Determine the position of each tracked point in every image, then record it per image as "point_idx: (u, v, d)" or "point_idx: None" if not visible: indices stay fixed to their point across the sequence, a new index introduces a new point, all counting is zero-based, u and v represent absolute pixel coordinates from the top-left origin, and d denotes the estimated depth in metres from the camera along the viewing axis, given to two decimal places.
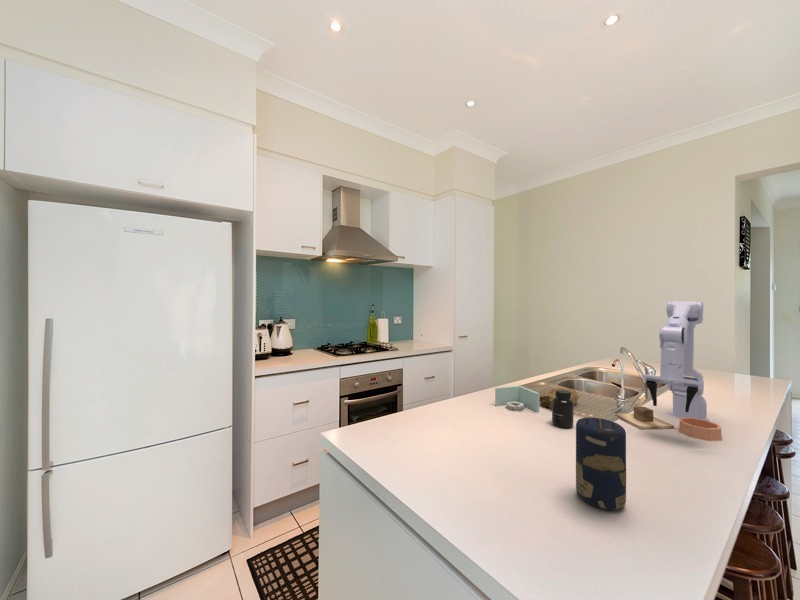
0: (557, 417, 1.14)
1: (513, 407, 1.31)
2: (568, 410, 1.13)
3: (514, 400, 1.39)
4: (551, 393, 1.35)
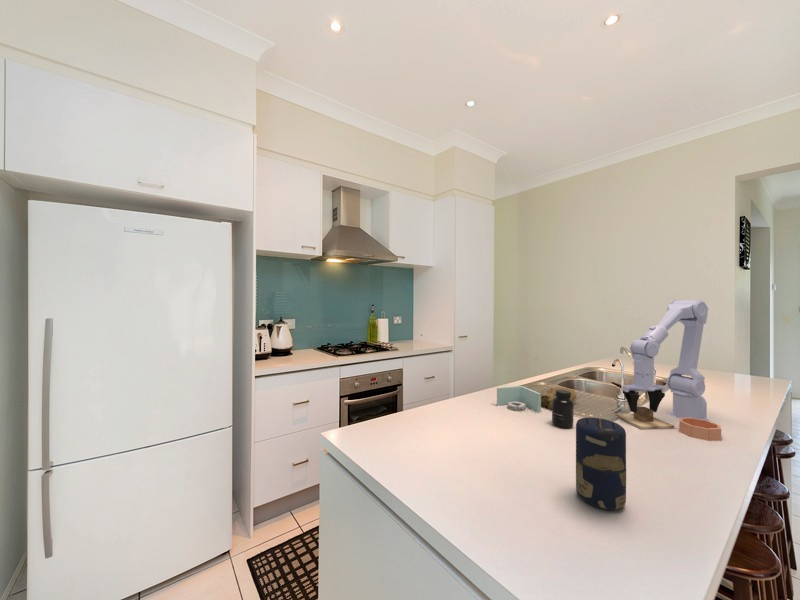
0: (557, 417, 1.14)
1: (514, 407, 1.31)
2: (568, 410, 1.13)
3: (516, 400, 1.39)
4: (549, 393, 1.35)
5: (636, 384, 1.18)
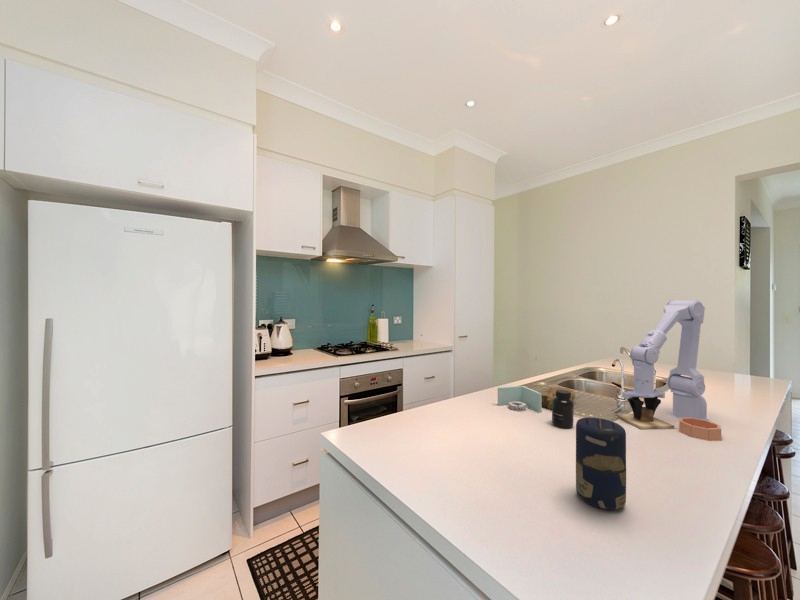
0: (557, 417, 1.14)
1: (515, 407, 1.31)
2: (568, 410, 1.13)
3: (517, 400, 1.39)
4: (548, 392, 1.35)
5: (636, 391, 1.18)
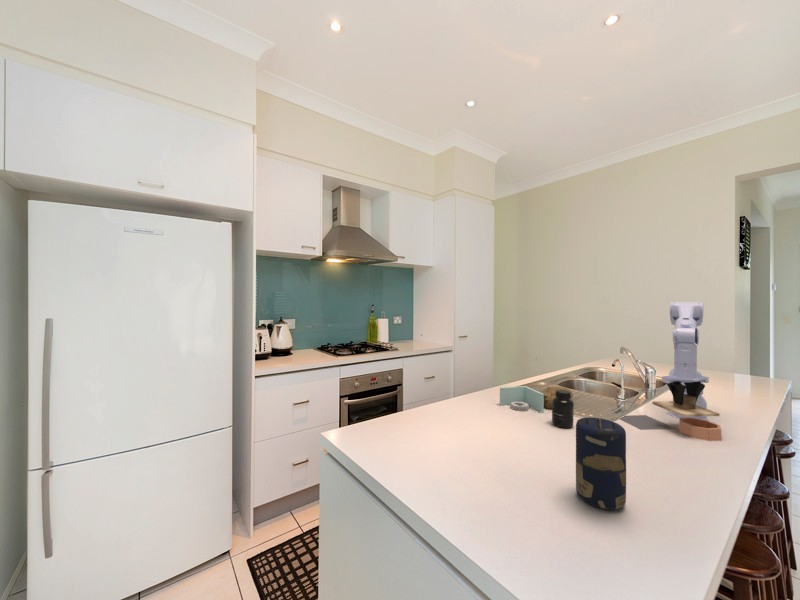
0: (557, 417, 1.14)
1: (517, 407, 1.31)
2: (568, 410, 1.13)
3: (519, 400, 1.39)
4: (547, 392, 1.36)
5: (677, 375, 1.10)
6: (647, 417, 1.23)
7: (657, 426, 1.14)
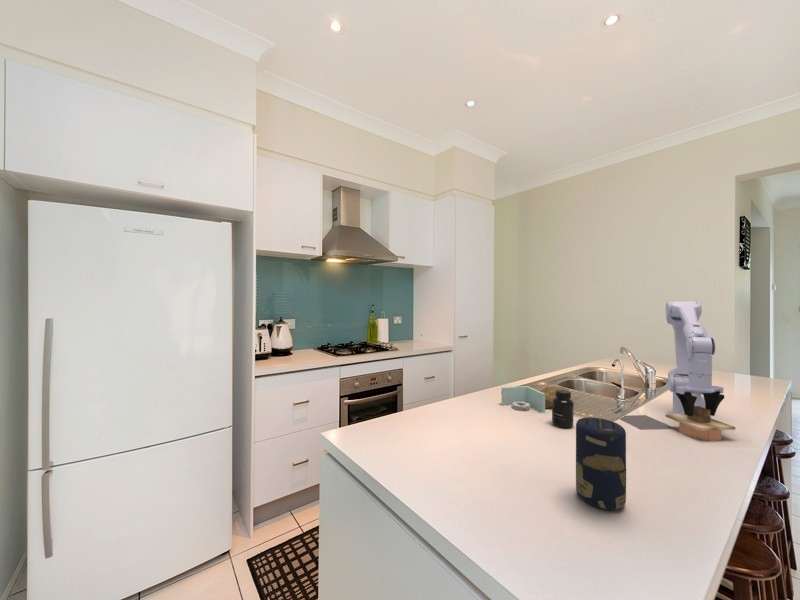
0: (557, 417, 1.14)
1: (518, 407, 1.31)
2: (568, 410, 1.13)
3: (521, 400, 1.39)
4: (545, 392, 1.36)
5: (692, 385, 1.07)
6: (647, 417, 1.23)
7: (657, 426, 1.14)
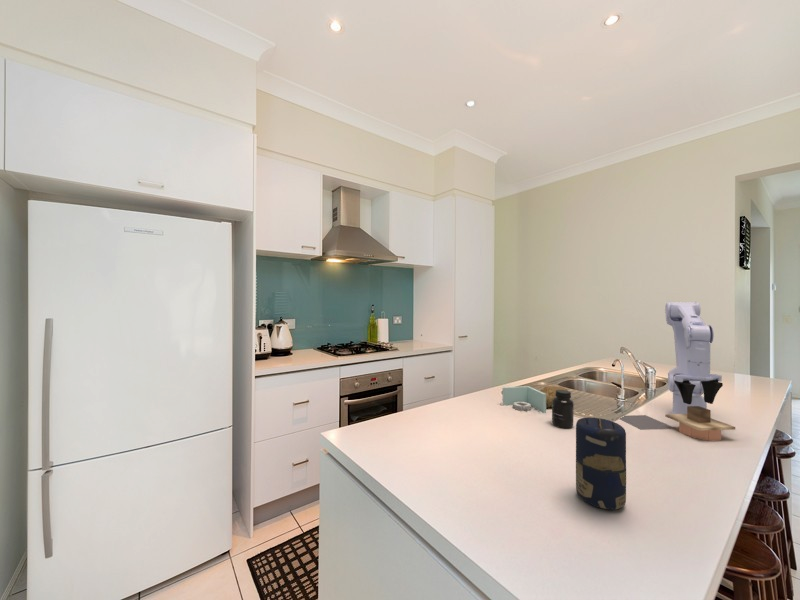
0: (557, 417, 1.14)
1: (519, 407, 1.31)
2: (568, 410, 1.13)
3: (522, 400, 1.39)
4: (544, 392, 1.37)
5: (690, 373, 1.08)
6: (647, 417, 1.23)
7: (657, 426, 1.14)
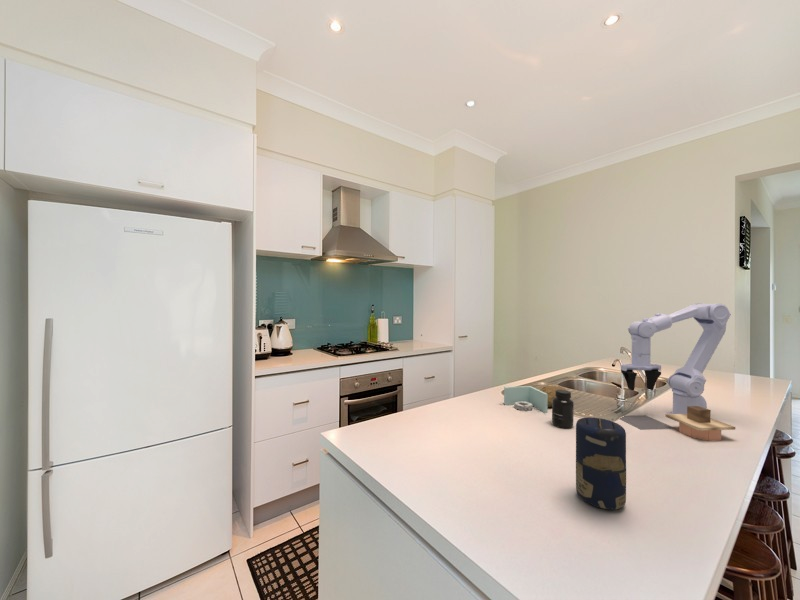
0: (557, 417, 1.14)
1: (520, 407, 1.31)
2: (568, 410, 1.13)
3: (524, 400, 1.39)
4: (543, 391, 1.37)
5: (634, 363, 1.24)
6: (647, 417, 1.23)
7: (657, 426, 1.14)
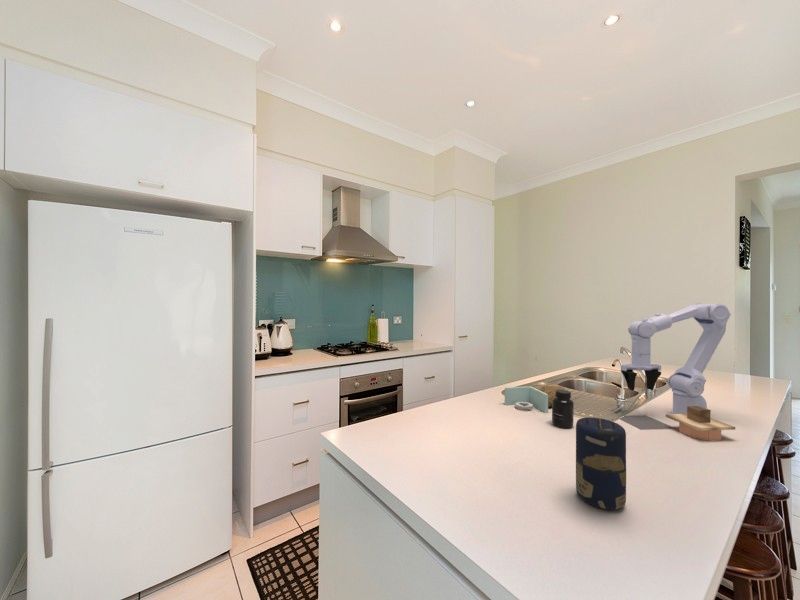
0: (557, 417, 1.14)
1: (521, 407, 1.32)
2: (568, 410, 1.13)
3: (524, 400, 1.39)
4: (542, 391, 1.37)
5: (634, 363, 1.24)
6: (647, 417, 1.23)
7: (657, 426, 1.14)
